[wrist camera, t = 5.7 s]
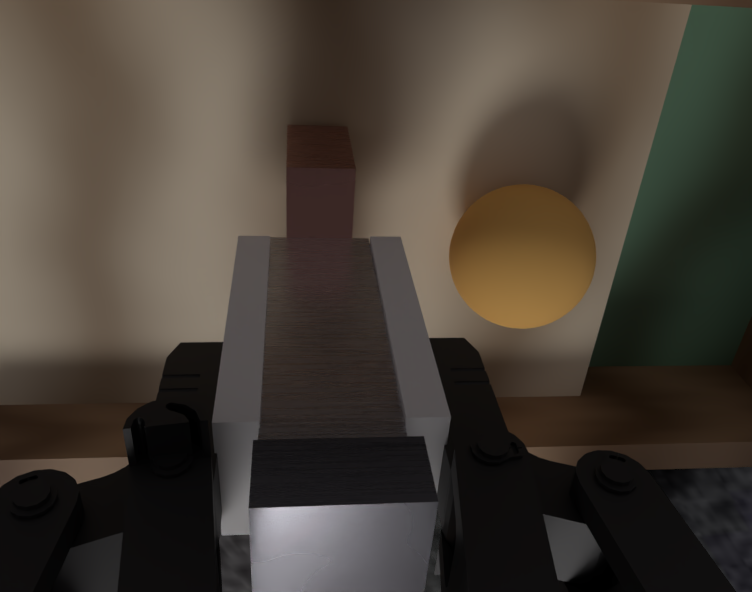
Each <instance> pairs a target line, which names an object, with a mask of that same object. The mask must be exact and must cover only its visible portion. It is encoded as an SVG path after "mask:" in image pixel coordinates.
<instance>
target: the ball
mask: <svg viewBox="0 0 752 592" xmlns="http://www.w3.org/2000/svg"><path fill="white" fill-rule="evenodd" d="M449 265H450V271H451V275H452V279H453V282H454V284H455V287H456V289H457V291H458V293H459V294H460V296H461V297H462V299H463V300H464V301H465V302H466V304H467V305H468V306H469V307H470V308H471V309H472V310H473V311H474V312H476V313H477V314H478V315H480V316H481V317H483V318H484V319H486V320H488V321H490V322H492V323H495V324H497V325H500V326H504V327H509V328H519V329H527V328H535V327H540V326H544V325H547V324H549V323H552V322H554V321H556V320H558V319H560V318H561V317H563V316H564V315H566V314H567V313H568V312H570V311H571V310H572V309H573V308H574V307H575V306H576V305H577V304H578V303H579V302H580V301H581V299H582V298H583V296H584V295H585V293H586V292H587V290H588V288H589V286H590V284H591V281H592V278H593V276H594V271H595V266H596V245H595V240H594V236H593V233H592V230H591V228H590V226H589V223H588V222H587V220H586V218H585V217H584V215H583V214H582V212H581V211H580V210H579V209H578V208H577V207H576V206H575V205H574V204H573V203H572V202H571V201H570V200H568V199H567V198H566V197H564V196H563V195H561V194H559V193H557V192H555V191H554V190H551V189H548V188H545V187H541V186H536V185H529V184H518V185H511V186H506V187H502V188H499V189H496V190H494V191H491V192H489V193H487V194H486V195H484V196H482V197H481V198H480V199H478V200H477V201H476V202H474V203H473V204H472V205H471V206H470V207H469V208H468V210H467V211H466V212H465V213H464V214H463V216H462V217H461V219H460V220H459V222H458V224H457V226H456V228H455V230H454V233H453V236H452V239H451V243H450V249H449Z"/></svg>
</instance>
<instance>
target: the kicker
mask: <svg viewBox="0 0 752 592" xmlns="http://www.w3.org/2000/svg"><path fill="white" fill-rule="evenodd" d="M355 177H356V167H355V162H354V157H353V152H352V147H351V142H350V137H349V132H348V127H347V126H319V125H288V124H287V161H286V223H287V237H270V256H269V273H268V291H267V308H266V326H265V343H264V361H263V378H262V396H261V413H260V428H259V430H258V440H253V448H252V463H251V478H250V493H249V508H248V509H249V531H250V553H251V576H252V592H424V588H425V582H426V576H427V570H428V564H429V558H430V552H431V545H432V539H433V533H434V527H435V521H436V515H437V509H438V503H439V501H438V497H437V492H436V488H435V483H434V479H433V475H432V470H431V466H430V461H429V457H428V452H427V448H426V443H425V439H424V436H408V437H407V432H406V427H405V422H404V417H403V411H402V406H401V401H400V396H399V391H398V386H397V381H396V376H395V371H394V366H393V361H392V356H391V350H390V345H389V340H388V335H387V330H386V325H385V320H384V315H383V310H382V305H381V300H380V294H379V289H378V284H377V279H376V274H375V269H374V264H373V259H372V254H371V249H370V244H369V239H368V238H352V233H353V215H354V196H355Z"/></svg>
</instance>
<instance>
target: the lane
mask: <svg viewBox="0 0 752 592" xmlns="http://www.w3.org/2000/svg"><path fill="white" fill-rule="evenodd" d="M287 124H288V125H319V126H347V127H348V132H349V137H350V142H351V147H352V152H353V157H354V162H355V167H356V177H355V196H354V215H353V233H352V238H368V239H369V244H370V236H381V237H401V240H402V243H403V247H404V250H405V254H406V257H407V261H408V265H409V268H410V272H411V275H412V279H413V283H414V286H415V290H416V293H417V297H418V300H419V304H420V308H421V311H422V315H423V318H424V322H425V325H426V329H427V333H428V336H429V338H465V339H466V340H467V341H468V342H469V343H470V344H471V345H472V346H473V347H474V348H475V349H476V350H477V351H478V352H479V354H480V356H481V359H482V362H483V365H484V367H485V371H486V373H487V375H488V378H489V381H490V384H491V386H492V389H493V391H494V394H495V397H496V399H497V402H498V405H499V408H500V410H501V413H502V416H503V418H504V421H505V424H506V426H507V429H508V431H509V432H510V433H512V434H514V435H515V436H517V437H518V438H519V439H520V440H521V441H522V442H523V443H524V444H525V446H526V448H527V450H528V452H529V453H531V454H533V455H535V456H537V457H539V458H543V459H546V460H549V461H553V462H558V463H563V464H567V465H572V466H576V465H577V461H578V460H579V459H580V458H581V457H582V456H583V455H584V454H586V453H589V452H592V451H595V450H610V451H614V452H618V453H621V454H624V455H627V456H629V457H630V458H632V459H634V460H635V461H637V462H639V463H640V464H641V465H642V466H643V467H644V468H645V469H646V470H658V469H692V468H726V467H752V0H0V487H1V486H2V485H4V484H5V483H7V482H9V481H10V480H12V479H13V478H15V477H16V476H19V475H22V474H25V473H28V472H31V471H34V470H44V469H54V470H59V471H63V472H66V473H67V474H69V475H70V476H72V477H73V478H74V479H75V480H76V482H77V484H79V483H82V482H86V481H90V480H93V479H97V478H101V477H104V476H107V475H109V474H112V473H115V472H117V471H118V470H120V469H122V468H124V467H126V466H127V465H128V464H129V463H128V457H127V452H126V446H125V441H124V435H123V427H124V424H125V422H126V419H127V418H128V417H129V416H130V415H131V414H132V413H133V412H134V411H135V410H136V409H137V408H139V407H141V406H143V405H145V404H147V403H149V402H151V401H156V397H157V393H158V392H159V385H160V381H161V378H162V373H163V369H164V365H165V361H166V358H167V357H168V355H169V354H170V353H171V352H172V351H173V350H174V349H175V348H176V347H177V346H178V345H179V344H180V342H223V340H224V333H225V326H226V319H227V312H228V305H229V298H230V291H231V284H232V277H233V270H234V263H235V256H236V249H237V242H238V236H270V237H287V223H286V161H287ZM518 184H529V185H536V186H541V187H545V188H548V189H551V190H554V191H555V192H557V193H559V194H561V195H563V196H564V197H566V198H567V199H568V200H570V201H571V202H572V203H573V204H574V205H575V206H576V207H577V208H578V209H579V210H580V211H581V212H582V214H583V215H584V217H585V218H586V220H587V222H588V223H589V226H590V228H591V230H592V233H593V236H594V240H595V245H596V266H595V271H594V276H593V278H592V281H591V284H590V286H589V288H588V290H587V292H586V293H585V295H584V296H583V298H582V299H581V301H580V302H579V303H578V304H577V305H576V306H575V307H574V308H573V309H572V310H571V311H570V312H568V313H567V314H566V315H564V316H563V317H561V318H560V319H558V320H556V321H554V322H552V323H549V324H547V325H544V326H540V327H535V328H527V329H519V328H509V327H504V326H500V325H497V324H495V323H492V322H490V321H488V320H486V319H484V318H483V317H481V316H480V315H478V314H477V313H476V312H474V311H473V310H472V309H471V308H470V307H469V306H468V305H467V304H466V302H465V301H464V300H463V299H462V297H461V296H460V294H459V293H458V291H457V289H456V287H455V284H454V282H453V279H452V275H451V271H450V265H449V249H450V243H451V239H452V236H453V233H454V230H455V228H456V226H457V224H458V222H459V220H460V219H461V217H462V216H463V214H464V213H465V212H466V211H467V210H468V208H469V207H470V206H471V205H472V204H473V203H474V202H476V201H477V200H478V199H480V198H481V197H482V196H484V195H486V194H487V193H489V192H491V191H494V190H496V189H499V188H502V187H506V186H511V185H518Z"/></svg>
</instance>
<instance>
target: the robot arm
mask: <svg viewBox="0 0 752 592" xmlns="http://www.w3.org/2000/svg"><path fill="white" fill-rule="evenodd" d="M370 249H371V254H372V259H373V264H374V269H375V274H376V279H377V284H378V289H379V294H380V300H381V305H382V310H383V315H384V320H385V325H386V330H387V335H388V340H389V345H390V350H391V356H392V361H393V366H394V371H395V376H396V381H397V386H398V391H399V396H400V401H401V406H402V411H403V417H404V422H405V427H406V432H407V437H408V436H424V439H425V443H426V448H427V452H428V457H429V461H430V466H431V470H432V475H433V479H434V483H435V488H436V492H437V497H438V501H439V503H438V513H439V518H440V523H441V527H442V530H441V536H440V542H439V548H438V555H437V561H436V567H435V573H434V575H440V578H441V592H736V591H735V590H734V588H733V587H732V585H731V584H730V583H729V581H728V580H727V579H726V577H725V576H724V574H723V573H722V572H721V570H720V569H719V568H718V566H717V565H716V563H715V562H714V561H713V559H712V558H711V557H710V555H709V554H708V552H707V551H706V550H705V548H704V547H703V546H702V544H701V543H700V541H699V540H698V539H697V537H696V536H695V535H694V533H693V532H692V530H691V529H690V528H689V526H688V525H687V524H686V522H685V521H684V520H683V518H682V517H681V515H680V514H679V513H678V511H677V510H676V509H675V507H674V506H673V504H672V503H671V502H670V500H669V499H668V498H667V496H666V495H665V493H664V492H663V491H662V489H661V488H660V487H659V485H658V484H657V482H656V481H655V480H654V478H653V477H652V476H651V474H650V473H649V472H648V471H647V470H646V469H645V468H644V467H643V466H642V465H641V464H640V463H639V462H637V461H635V460H634V459H632V458H630V457H629V456H627V455H624V454H621V453H618V452H614V451H610V450H595V451H592V452H589V453H586V454H584V455H583V456H582V457H581V458H580V459H579V460H578V461H577V465H576V466H572V465H567V464H563V463H558V462H553V461H549V460H546V459H543V458H539V457H537V456H535V455H533V454H531V453H529V452H528V450H527V448H526V446H525V444H524V443H523V442H522V441H521V440H520V439H519V438H518V437H517V436H515V435H514V434H512V433H510V432H509V431H508V429H507V426H506V424H505V421H504V418H503V416H502V413H501V410H500V408H499V405H498V402H497V399H496V397H495V394H494V391H493V389H492V386H491V384H490V381H489V378H488V375H487V373H486V371H485V367H484V365H483V362H482V359H481V356H480V354H479V352H478V351H477V350H476V349H475V348H474V347H473V346H472V345H471V344H470V343H469V342H468V341H467V340H466V339H465V338H429V336H428V333H427V329H426V325H425V322H424V318H423V315H422V311H421V308H420V304H419V300H418V297H417V293H416V290H415V286H414V283H413V279H412V275H411V272H410V268H409V265H408V261H407V257H406V254H405V250H404V247H403V243H402V240H401V237H381V236H370ZM269 256H270V236H238V242H237V249H236V256H235V263H234V270H233V277H232V284H231V291H230V298H229V305H228V312H227V319H226V326H225V333H224V340H223V342H180V344H179V345H178V346H177V347H176V348H175V349H174V350H173V351H172V352H171V353H170V354H169V355H168V357H167V358H166V361H165V365H164V369H163V373H162V378H161V381H160V385H159V392H158V393H157V397H156V401H151V402H149V403H147V404H145V405H143V406H141V407H139V408H137V409H136V410H135V411H134V412H133V413H132V414H131V415H130V416H129V417H128V418H127V419H126V422H125V424H124V427H123V435H124V441H125V446H126V452H127V457H128V463H129V464H128V465H127V466H126V467H124V468H122V469H120V470H118V471H117V472H115V473H112V474H109V475H107V476H104V477H101V478H97V479H93V480H90V481H86V482H82V483H79V484H77V482H76V480H75V479H74V478H73V477H72V476H70V475H69V474H67V473H66V472H63V471H59V470H54V469H44V470H34V471H31V472H28V473H25V474H22V475H19V476H16V477H15V478H13V479H12V480H10V481H9V482H7V483H5V484H4V485H2V486H1V487H0V592H222V579H221V558H220V547H219V536H220V527H221V533H222V535H244V534H250V531H249V509H248V508H249V493H250V478H251V463H252V448H253V440H258V430H259V428H260V413H261V396H262V378H263V361H264V343H265V326H266V308H267V291H268V273H269Z"/></svg>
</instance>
